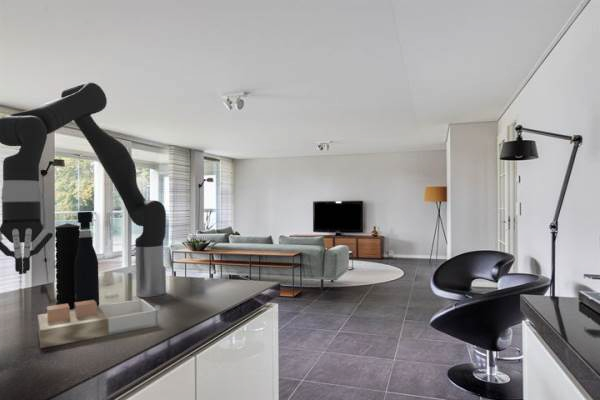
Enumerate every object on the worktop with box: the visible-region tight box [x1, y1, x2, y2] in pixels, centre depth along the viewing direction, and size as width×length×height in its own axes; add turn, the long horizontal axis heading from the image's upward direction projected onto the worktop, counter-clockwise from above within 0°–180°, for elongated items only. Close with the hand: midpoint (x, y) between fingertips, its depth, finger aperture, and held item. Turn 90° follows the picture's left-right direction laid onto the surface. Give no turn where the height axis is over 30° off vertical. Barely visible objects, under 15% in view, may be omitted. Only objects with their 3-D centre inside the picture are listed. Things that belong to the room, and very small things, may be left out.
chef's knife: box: [153, 304, 162, 315], centre depth 118 cm, size 19×1×3 cm
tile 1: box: [46, 303, 70, 323], centre depth 98 cm, size 4×4×3 cm
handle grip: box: [54, 222, 81, 310], centre depth 126 cm, size 10×26×10 cm
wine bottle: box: [74, 211, 100, 306], centre depth 121 cm, size 6×6×30 cm
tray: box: [99, 298, 159, 336], centre depth 107 cm, size 12×16×4 cm
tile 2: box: [74, 300, 97, 318], centre depth 102 cm, size 4×4×3 cm
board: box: [37, 306, 110, 349], centre depth 100 cm, size 14×16×4 cm
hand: (22, 273), depth 94 cm, fingers closed
